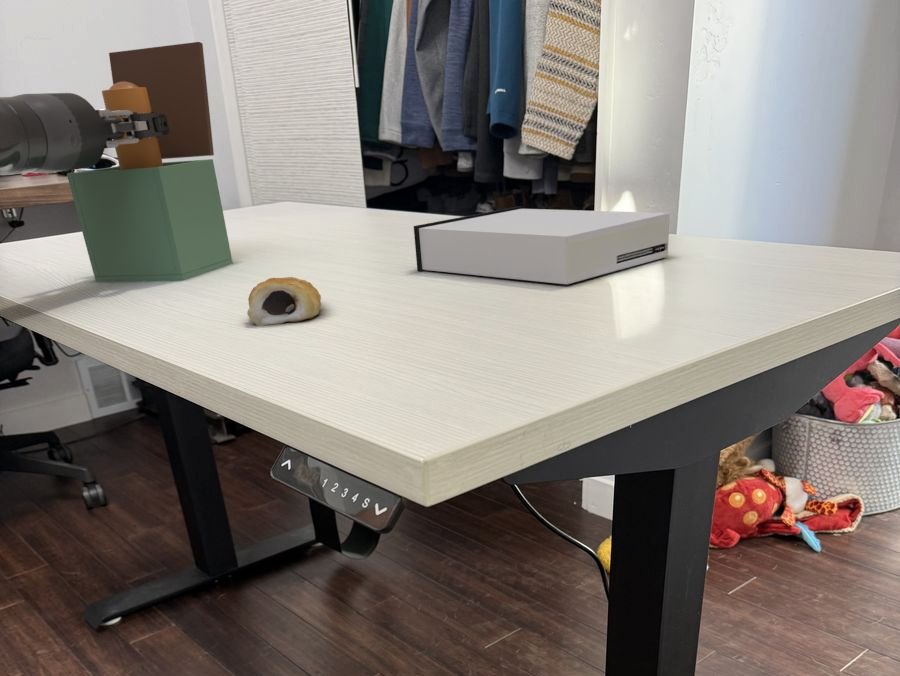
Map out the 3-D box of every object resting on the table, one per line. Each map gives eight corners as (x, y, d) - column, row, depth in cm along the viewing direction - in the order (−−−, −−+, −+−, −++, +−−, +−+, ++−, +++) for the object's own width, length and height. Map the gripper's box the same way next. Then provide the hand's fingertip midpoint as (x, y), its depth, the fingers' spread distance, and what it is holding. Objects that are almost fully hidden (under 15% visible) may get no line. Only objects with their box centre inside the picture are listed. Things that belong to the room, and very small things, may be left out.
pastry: (263, 308, 88) (256, 268, 87) (328, 303, 88) (323, 263, 86) (247, 328, 80) (240, 286, 78) (319, 323, 80) (313, 280, 78)
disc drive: (519, 248, 110) (518, 205, 108) (668, 258, 95) (671, 209, 93) (416, 272, 100) (412, 226, 98) (565, 288, 85) (565, 234, 83)
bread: (114, 184, 107) (90, 83, 102) (140, 180, 111) (118, 83, 106) (149, 181, 105) (126, 79, 100) (174, 178, 110) (153, 79, 104)
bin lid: (198, 41, 105) (202, 43, 106) (108, 52, 110) (112, 54, 110) (210, 154, 110) (214, 155, 110) (123, 161, 114) (127, 161, 115)
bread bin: (183, 281, 107) (158, 167, 101) (95, 283, 112) (66, 173, 105) (233, 264, 117) (213, 159, 110) (150, 266, 121) (126, 165, 115)
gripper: (93, 87, 90) (187, 86, 103) (-12, 99, 94) (91, 96, 108) (112, 167, 93) (200, 156, 107) (10, 175, 98) (107, 163, 112)
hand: (145, 126), depth 108 cm, fingers closed on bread, 5 cm apart
